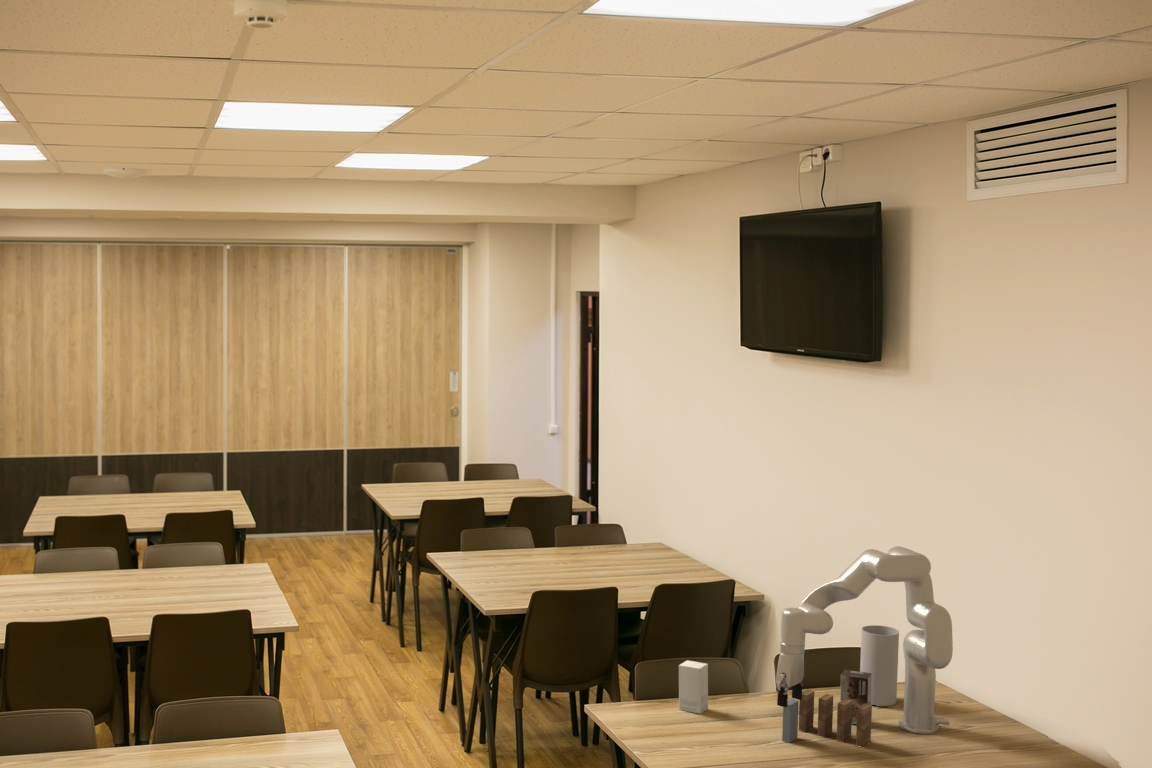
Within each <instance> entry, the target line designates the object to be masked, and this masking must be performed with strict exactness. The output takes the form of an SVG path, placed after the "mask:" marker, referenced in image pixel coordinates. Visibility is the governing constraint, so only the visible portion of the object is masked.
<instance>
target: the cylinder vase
mask: <svg viewBox="0 0 1152 768" xmlns="http://www.w3.org/2000/svg"><path fill="white" fill-rule="evenodd" d="M860 634H861V635H860V637H861V638H860V639H861V640H860V664H859V672H866V673H871V705H876V706H875V707H878V706H888V707H891V706H894V705H896V703H897V697H898V696H897V694H898V693H897V692H898V671H899V668H898V667H899V647H900V646H899V645H900V644H899V643H900V642H899V641H900V631H899V630H898V629H896V628H894V627H890V626H887V625H879V624H878V625H877V624H876V625H874V624H871V625H864V626H862V627H861V633H860Z"/></svg>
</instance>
